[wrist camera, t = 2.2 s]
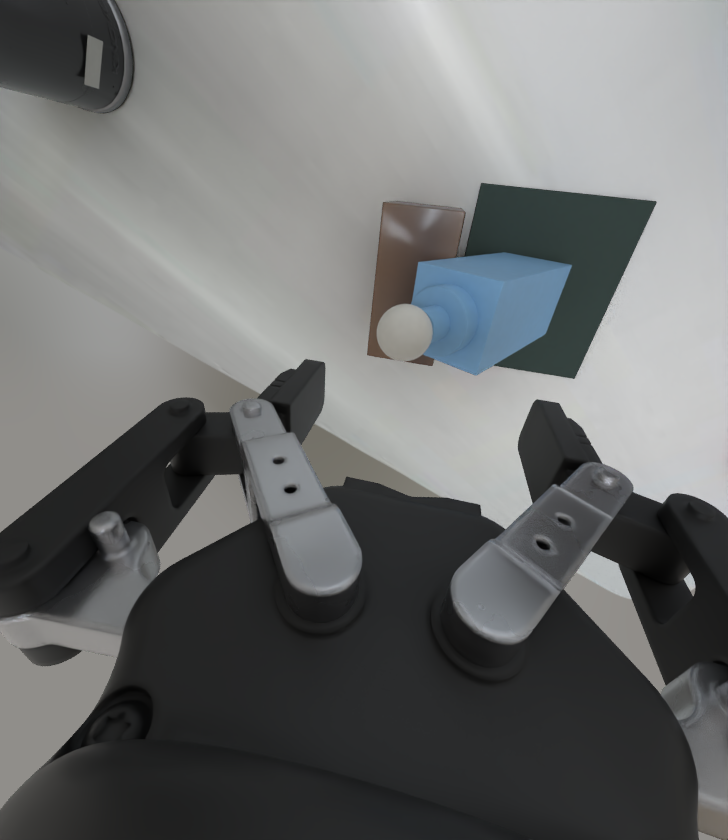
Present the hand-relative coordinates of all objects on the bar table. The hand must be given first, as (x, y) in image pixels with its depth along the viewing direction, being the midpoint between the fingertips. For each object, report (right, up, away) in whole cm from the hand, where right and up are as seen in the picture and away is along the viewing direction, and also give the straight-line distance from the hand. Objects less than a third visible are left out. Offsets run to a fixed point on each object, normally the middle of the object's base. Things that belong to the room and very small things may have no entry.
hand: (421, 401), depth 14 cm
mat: (+14, +12, +20) cm, 27 cm away
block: (+3, +14, +22) cm, 26 cm away
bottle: (+9, +12, +21) cm, 26 cm away
